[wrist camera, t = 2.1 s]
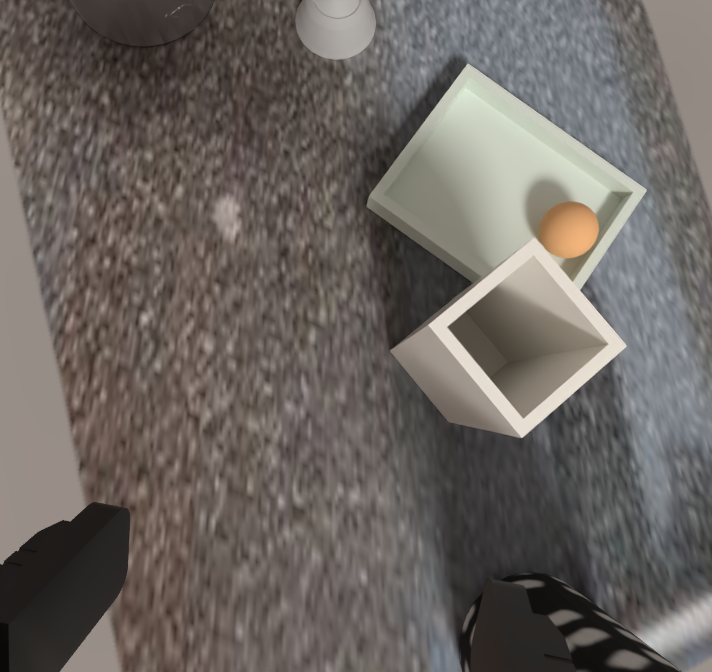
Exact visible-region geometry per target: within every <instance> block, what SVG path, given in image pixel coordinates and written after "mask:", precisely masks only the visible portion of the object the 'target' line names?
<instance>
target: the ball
mask: <svg viewBox="0 0 712 672" xmlns="http://www.w3.org/2000/svg"><path fill="white" fill-rule="evenodd" d="M598 232H599V224H598V220H597V217H596V215H595V214H594V212H593V211H592V210H591V209H590V208H589V207H588V206H586V205H584V204H582V203H579V202H572V201H569V202H563V203H560V204H557V205H555V206H554V207H552V208H551V209H550V210H548V211H547V213H546V214H545V215H544V217H543V218H542V220H541V223H540V226H539V237H540V241H541V243H542V245H543V246H544V248H545V249H546V250H547V251H548V252H549V253H551V254H552V255H554V256H557V257H560V258H574V257H577V256H580V255H582V254H584V253H585V252H587V251H588V250H589V249H590V248H591V247H592V246H593V244H594V243H595V241H596V239H597V236H598Z"/></svg>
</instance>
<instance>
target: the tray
mask: <svg viewBox="0 0 712 672" xmlns="http://www.w3.org/2000/svg"><path fill="white" fill-rule="evenodd" d="M646 191H647V190H646V189H645V188H643V187H642V186H641V185H639V184H638V183H636V182H635V181H634V180H632V179H631V178H629V177H628V176H626V175H625V174H624V173H622V172H621V171H619V170H618V169H617V168H615V167H614V166H612V165H611V164H610V163H608V162H607V161H605V160H604V159H602V158H601V157H600V156H598V155H597V154H595V153H594V152H593V151H591V150H590V149H588V148H587V147H585V146H584V145H583V144H581V143H580V142H578V141H577V140H576V139H574V138H573V137H571V136H570V135H568V134H567V133H566V132H564V131H563V130H561V129H560V128H559V127H557V126H556V125H554V124H553V123H552V122H550V121H549V120H547V119H546V118H544V117H543V116H542V115H540V114H539V113H537V112H536V111H535V110H533V109H532V108H530V107H529V106H527V105H526V104H525V103H523V102H522V101H520V100H519V99H518V98H516V97H515V96H513V95H512V94H511V93H509V92H508V91H506V90H505V89H503V88H502V87H501V86H499V85H498V84H496V83H495V82H494V81H492V80H491V79H489V78H488V77H486V76H485V75H484V74H482V73H481V72H479V71H478V70H477V69H475V68H474V67H472V66H471V65H470V64H467V65H466V67H465V68H464V69H463V71H462V72H461V73H460V75H459V76H458V77H457V79H456V80H455V81H454V83H453V84H452V85H451V87H450V88H449V89H448V91H447V92H446V93H445V95H444V96H443V97H442V99H441V100H440V101H439V103H438V104H437V105H436V107H435V108H434V109H433V111H432V112H431V113H430V115H429V116H428V117H427V119H426V120H425V121H424V123H423V124H422V126H421V127H420V128H419V130H418V131H417V132H416V134H415V135H414V136H413V138H412V139H411V140H410V142H409V143H408V144H407V146H406V147H405V148H404V150H403V151H402V152H401V154H400V155H399V156H398V158H397V159H396V160H395V162H394V163H393V164H392V166H391V167H390V168H389V170H388V171H387V172H386V174H385V175H384V176H383V178H382V179H381V180H380V182H379V183H378V184H377V186H376V187H375V188H374V190H373V191H372V192H371V194H370V195H369V197H368V202H367V206H366V207H367V208H369V209H370V210H372V211H373V212H374V213H376V214H377V215H379V216H380V217H381V218H383V219H384V220H386V221H387V222H388V223H390V224H391V225H393V226H394V227H395V228H397V229H398V230H400V231H401V232H402V233H404V234H405V235H407V236H408V237H409V238H411V239H412V240H414V241H415V242H416V243H418V244H419V245H421V246H422V247H423V248H425V249H426V250H428V251H429V252H430V253H432V254H433V255H435V256H436V257H437V258H439V259H440V260H442V261H443V262H444V263H446V264H447V265H449V266H450V267H451V268H453V269H454V270H456V271H457V272H458V273H460V274H461V275H463V276H464V277H465V278H467V279H468V280H470V281H471V282H472V283H474V282H475V281H477V280H478V279H479V278H481V277H482V276H483V275H485V274H486V273H487V272H489V271H490V270H491V269H493V268H494V267H495V266H497V265H498V264H499V263H501V262H502V261H503V260H505V259H506V258H508V257H509V256H510V255H512V254H513V253H514V252H516V251H517V250H518V249H520V248H521V247H522V246H524V245H525V244H526V243H528V242H529V241H530V240H532V239H533V238H534V237H535V238H536V239H537V241H538V242H539V243H540V244H541V245H542V243H541V241H540V237H539V226H540V223H541V220H542V218H543V217H544V215H545V214H546V213H547V211H548V210H550V209H551V208H552V207H554V206H555V205H557V204H560V203H563V202H569V201H572V202H579V203H582V204H584V205H586V206H588V207H589V208H590V209H591V210H592V211H593V212H594V214H595V215H596V217H597V220H598V224H599V232H598V236H597V239H596V241H595V243H594V244H593V246H592V247H591V248H590V249H589V250H588V251H587V252H585V253H584V254H582V255H580V256H577V257H574V258H560V257H557V256H554V255H552V254H551V253H549V252H548V251H547V250H546V249H545V248H544V246H543V245H542V247H543V248H544V249H545V250H546V251H547V252H548V254H549V255H550V256H551V257H552V258H553V259H554V261H555V262H556V263H557V264H558V265H559V267H560V268H561V269H562V270H563V271H564V272H565V274H566V275H567V276H568V277H569V278H570V280H571V281H572V282H573V283H574V284H575V285H576V287H577V288H578V289H579V290H580V289H581V288H582V286H583V285H584V283H585V282H586V280H587V279H588V277H589V276H590V274H591V273H592V271H593V270H594V268H595V267H596V265H597V264H598V262H599V261H600V259H601V258H602V256H603V255H604V253H605V252H606V250H607V249H608V247H609V246H610V245H611V243H612V242H613V240H614V239H615V237H616V236H617V234H618V233H619V231H620V230H621V228H622V227H623V225H624V224H625V222H626V221H627V219H628V218H629V216H630V215H631V213H632V212H633V210H634V209H635V207H636V206H637V204H638V203H639V201H640V200H641V198H642V197H643V195H644V194H645V192H646Z"/></svg>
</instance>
